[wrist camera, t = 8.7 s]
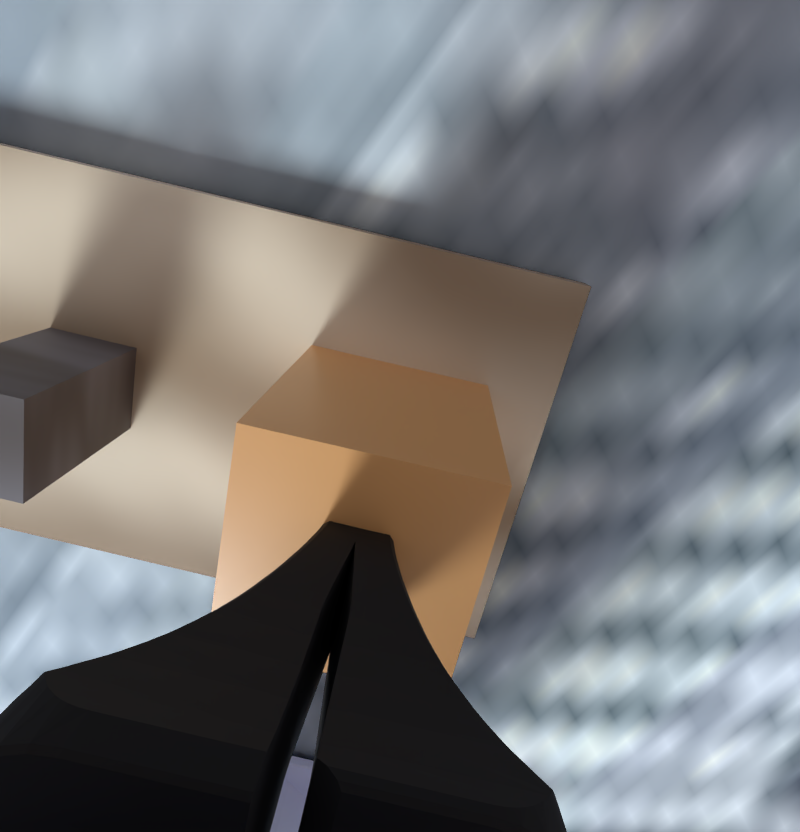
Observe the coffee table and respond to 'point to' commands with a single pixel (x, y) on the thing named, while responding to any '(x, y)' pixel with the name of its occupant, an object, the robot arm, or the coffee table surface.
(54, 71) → the coffee table surface
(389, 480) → the orange rectangular block
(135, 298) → the post board
